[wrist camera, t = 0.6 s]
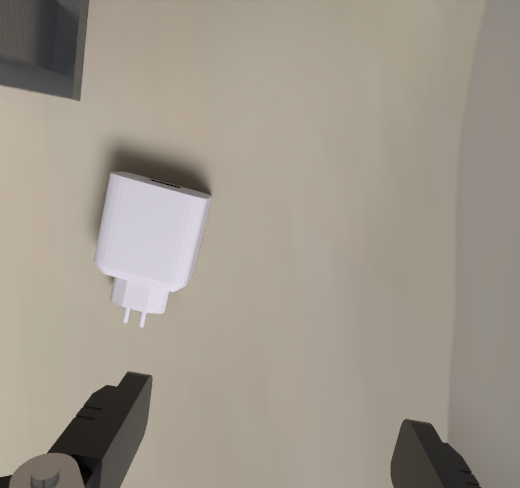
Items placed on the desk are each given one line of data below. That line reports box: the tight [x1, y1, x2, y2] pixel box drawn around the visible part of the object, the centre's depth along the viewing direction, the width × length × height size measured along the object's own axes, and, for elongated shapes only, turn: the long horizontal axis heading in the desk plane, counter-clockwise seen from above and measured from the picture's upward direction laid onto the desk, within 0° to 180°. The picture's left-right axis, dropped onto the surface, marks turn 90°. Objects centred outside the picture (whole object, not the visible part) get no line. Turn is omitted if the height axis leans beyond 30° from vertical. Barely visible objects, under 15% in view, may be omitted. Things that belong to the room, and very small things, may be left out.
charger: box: [94, 171, 212, 327], centre depth 39 cm, size 5×9×15 cm
